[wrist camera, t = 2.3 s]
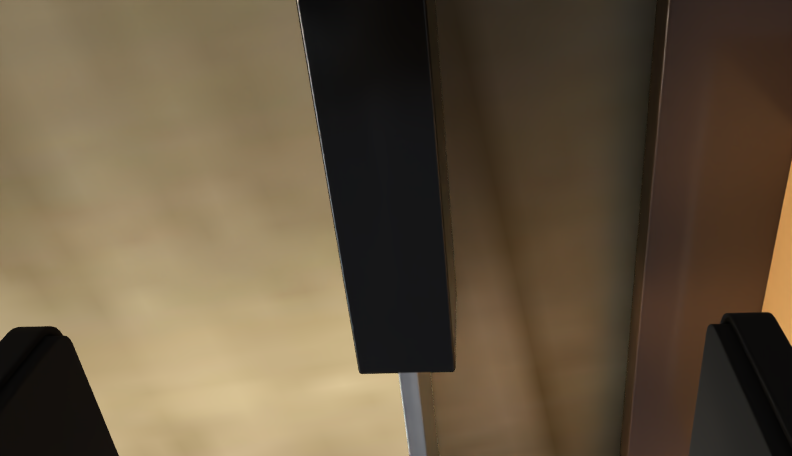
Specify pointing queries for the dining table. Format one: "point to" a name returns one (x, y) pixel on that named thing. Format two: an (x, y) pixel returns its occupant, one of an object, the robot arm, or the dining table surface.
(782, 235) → the cake
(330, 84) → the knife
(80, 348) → the dining table surface
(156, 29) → the dining table surface
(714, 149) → the cake board
